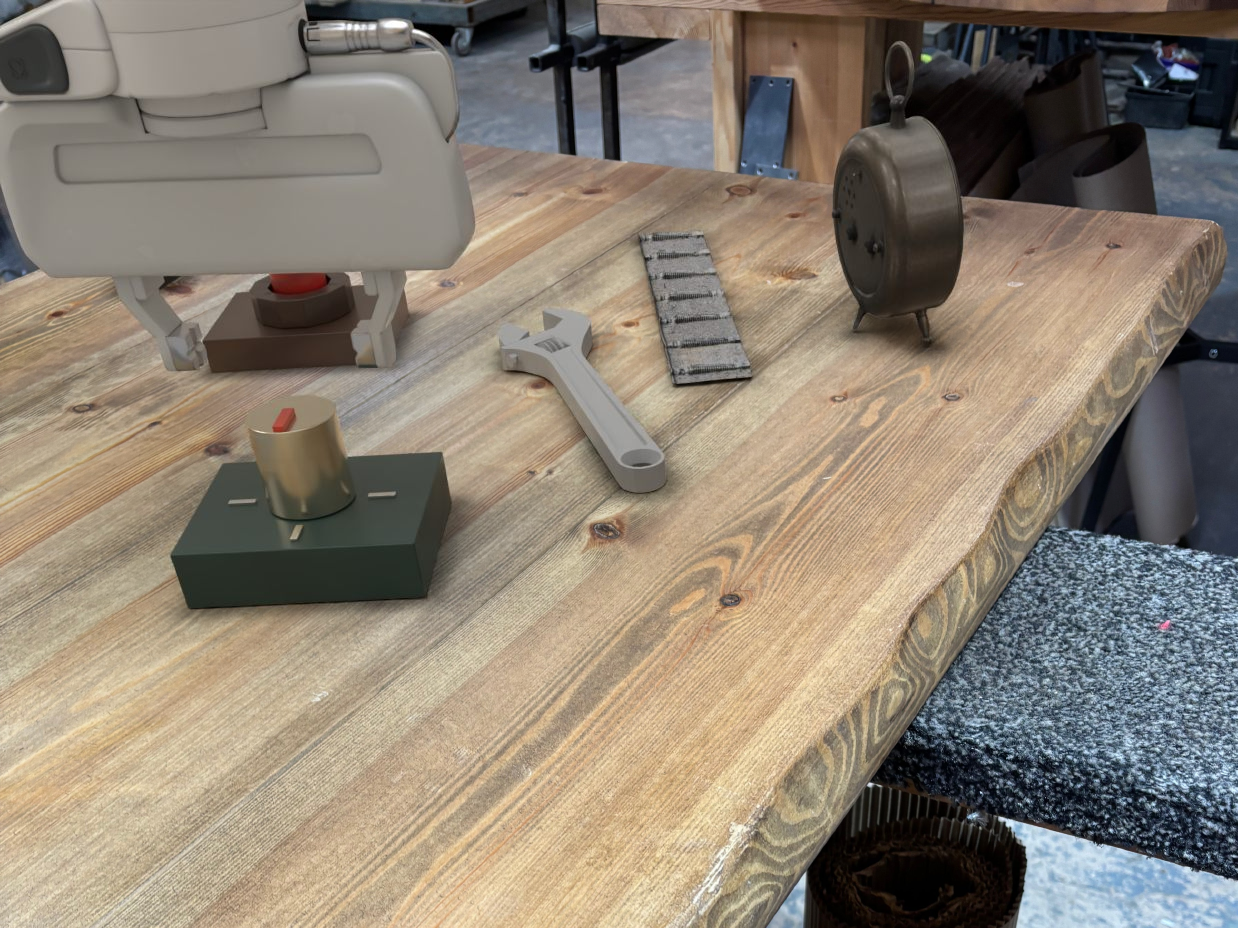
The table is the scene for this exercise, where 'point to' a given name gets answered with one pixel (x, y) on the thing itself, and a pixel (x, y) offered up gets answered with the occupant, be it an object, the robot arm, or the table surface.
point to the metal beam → (692, 309)
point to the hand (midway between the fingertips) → (282, 365)
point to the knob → (301, 456)
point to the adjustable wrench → (586, 395)
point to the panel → (316, 538)
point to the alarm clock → (898, 214)
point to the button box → (293, 327)
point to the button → (297, 282)
